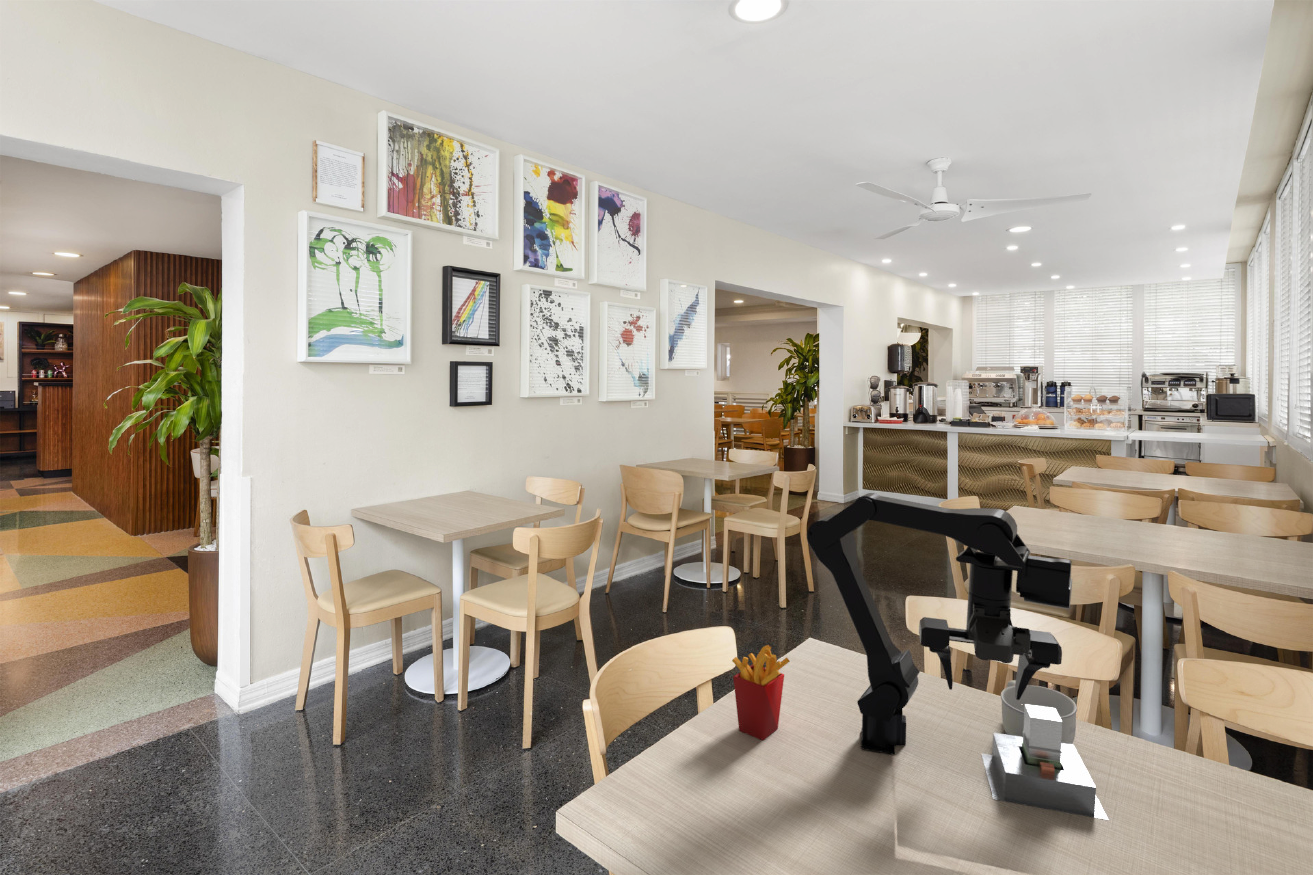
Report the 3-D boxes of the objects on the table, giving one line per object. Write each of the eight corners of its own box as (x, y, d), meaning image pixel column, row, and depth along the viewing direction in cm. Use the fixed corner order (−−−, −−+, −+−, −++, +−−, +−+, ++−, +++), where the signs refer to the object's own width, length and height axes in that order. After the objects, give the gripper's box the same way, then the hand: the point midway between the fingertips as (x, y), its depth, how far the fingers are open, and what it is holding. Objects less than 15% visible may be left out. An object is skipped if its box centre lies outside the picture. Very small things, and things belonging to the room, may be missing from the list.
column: (1027, 763, 94) (1029, 717, 94) (1021, 747, 98) (1023, 703, 98) (1060, 768, 93) (1063, 721, 92) (1053, 752, 97) (1055, 707, 96)
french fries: (731, 730, 113) (731, 647, 111) (756, 712, 119) (757, 632, 118) (775, 749, 107) (776, 661, 106) (800, 728, 113) (801, 645, 112)
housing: (993, 805, 93) (994, 765, 92) (980, 759, 104) (982, 723, 103) (1108, 826, 88) (1110, 784, 88) (1082, 775, 99) (1084, 738, 99)
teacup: (1086, 767, 102) (1089, 718, 101) (1011, 759, 104) (1013, 711, 103) (1051, 721, 115) (1053, 677, 114) (985, 715, 117) (987, 672, 117)
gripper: (925, 604, 93) (920, 708, 95) (1076, 621, 87) (1067, 732, 89) (921, 580, 103) (916, 674, 105) (1055, 595, 97) (1048, 694, 99)
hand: (983, 693), depth 99 cm, fingers open, 9 cm apart
